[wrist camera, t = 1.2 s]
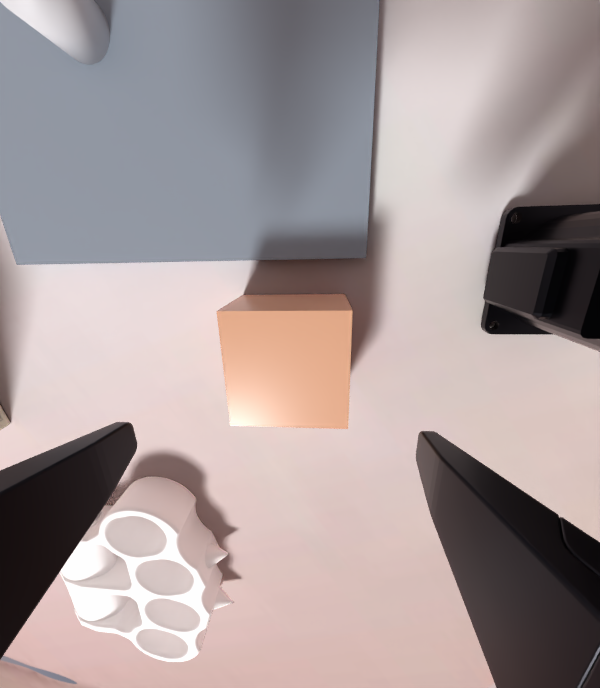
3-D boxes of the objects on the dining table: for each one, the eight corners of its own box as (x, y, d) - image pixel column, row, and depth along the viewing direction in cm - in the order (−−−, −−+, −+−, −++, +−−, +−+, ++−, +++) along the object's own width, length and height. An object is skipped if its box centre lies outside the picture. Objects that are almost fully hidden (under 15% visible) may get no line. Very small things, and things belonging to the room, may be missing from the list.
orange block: (344, 293, 17) (352, 310, 12) (342, 386, 18) (347, 428, 14) (243, 294, 17) (216, 311, 13) (251, 385, 19) (230, 425, 15)
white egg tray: (54, 465, 23) (230, 477, 22) (102, 607, 29) (243, 621, 28) (11, 500, 20) (215, 516, 19) (75, 651, 26) (233, 669, 25)
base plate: (386, -194, 11) (419, -419, 7) (364, 257, 16) (376, 261, 12) (-95, -127, 12) (-269, -283, 9) (30, 263, 17) (-47, 268, 14)
